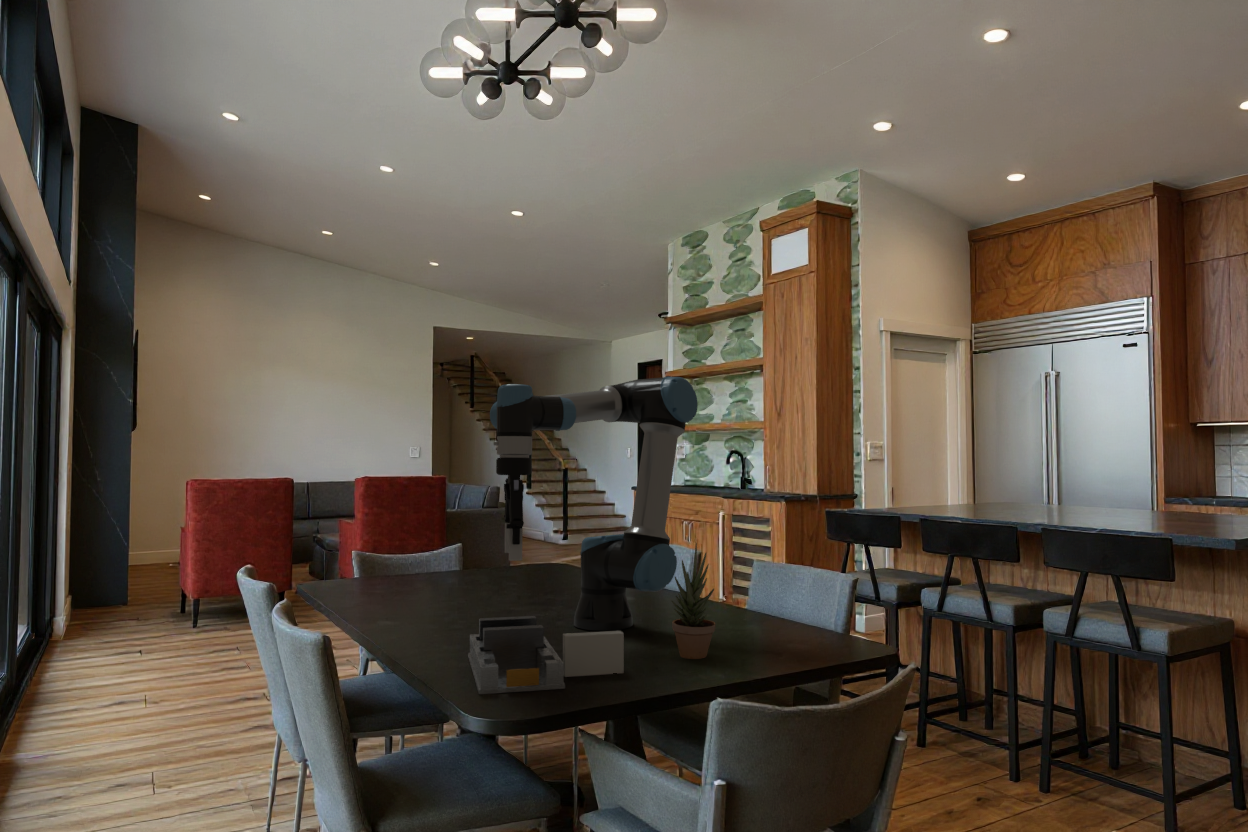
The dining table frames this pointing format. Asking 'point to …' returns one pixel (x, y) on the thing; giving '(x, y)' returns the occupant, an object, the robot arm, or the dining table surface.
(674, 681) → the dining table surface
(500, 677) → the rack
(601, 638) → the panel
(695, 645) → the potted plant
